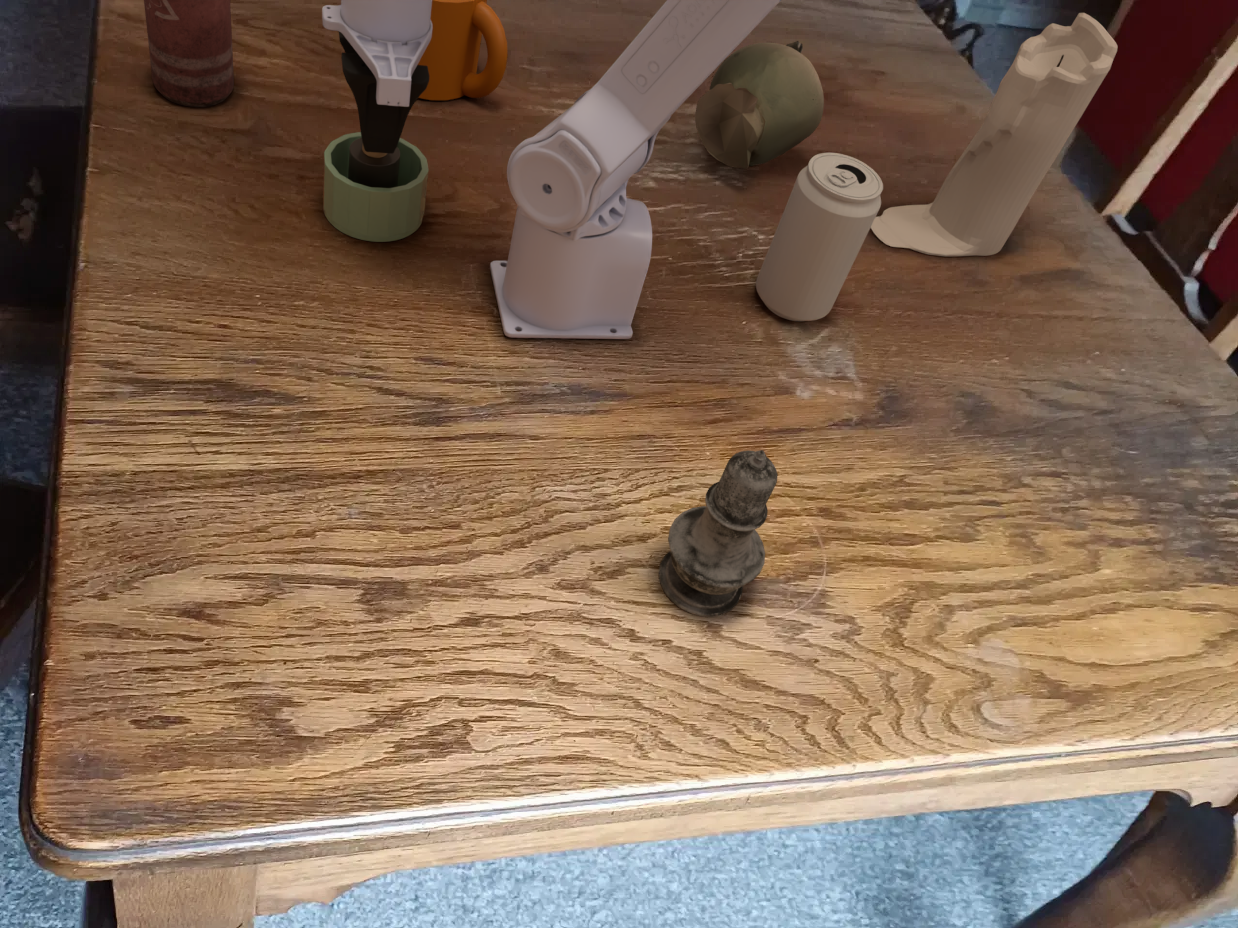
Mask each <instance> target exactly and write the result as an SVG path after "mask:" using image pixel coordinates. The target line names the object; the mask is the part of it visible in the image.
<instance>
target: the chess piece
mask: <svg viewBox="0 0 1238 928" xmlns="http://www.w3.org/2000/svg"><path fill="white" fill-rule="evenodd" d="M778 475H779V474H778V471H777V468H776V466H775V464H774V462H773V461H772V460H771V459H770V458H769V457H767V454H766V452H765V450H763V449H760V450H756V451H755V450H741V451H739V452H736V453H734V454H733V455H732V456H731V457H730V458H729V459H728V461H727V463H726V465H725V467H724V470H723V471H722V474H721V475H720V479H719V481H717V482H715V483H713V484H712V485H711V486H709V487H708V489H707V491H706V493H705V497H704V502H705V505H702V506H696V507H691V508H689V509H686V510H684V511H682V512H681V513H680V514H678V516H676V517H675V518H674V520H673V521H672V524H671V525H670V527H669V531H668V537H667V541H668V546H669V551H668V552H667V553H666V554H665V555H664V556H663V558H662V560H661V562H660V564H659V568H658V578H659V583H660V586H661V588H662V590H663V593H664V594H665V595H666V596H667V598H668V599H669V600H670V602H672V603H673V604H674V605H676V606H677V607H678V608H679V609H681V610H683V611H685V612H687V613H688V614H692V615H695V616H698V617H708V618H709V617H710V618H711V617H712V618H714V617H718V616H723V615H725V614H727V613H729V612H730V611H732V610H733V609H735V607H736V606H737V605H738V604H739V602H740V600H741V597H742V596H743V590H744V586H746V585H747V584H749V583H751V582H753V581H754V580H755V579H756V578H757V577H758V576H759V575H760V574H761V573H762V570H763V568H764V566H765V562H766V549H765V546H764V542H763V540H762V539H761V536H760V535H759V533H758V531H757V530H758V529H759V528H760V527H762V526H763V525H764V524H765V522H766V520H767V518H768V510H769V509H768V505H767V503H768V501H769V499H770V497H771V496H772V493H773V491H774V489H775V487H776V485H777V484H778Z"/></svg>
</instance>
